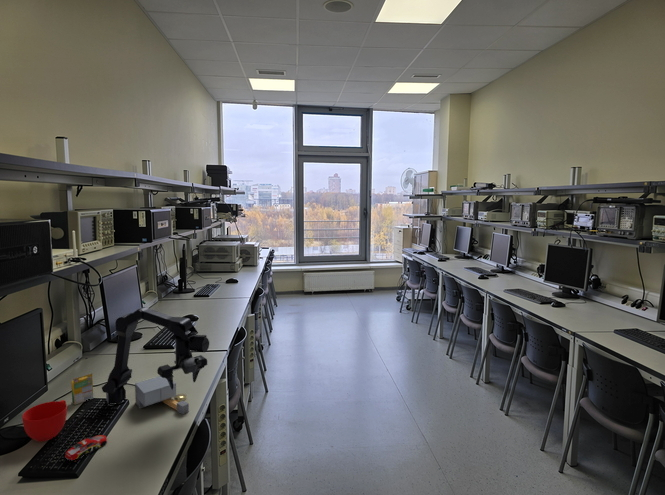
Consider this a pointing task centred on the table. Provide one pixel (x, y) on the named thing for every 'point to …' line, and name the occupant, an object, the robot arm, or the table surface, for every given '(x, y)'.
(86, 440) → the race car
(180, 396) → the disc
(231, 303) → the table surface
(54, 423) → the red spouted bowl
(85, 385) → the crayon box
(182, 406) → the gray mallet
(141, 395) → the cabinet
